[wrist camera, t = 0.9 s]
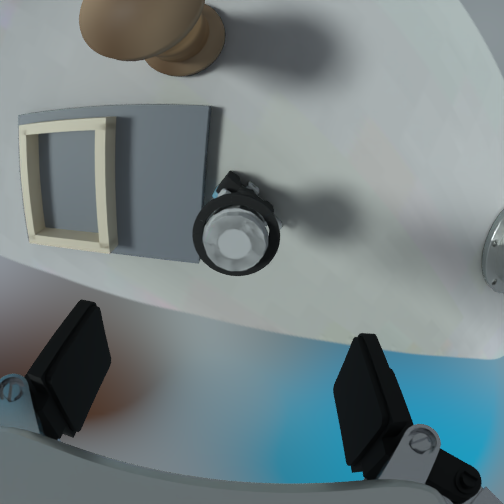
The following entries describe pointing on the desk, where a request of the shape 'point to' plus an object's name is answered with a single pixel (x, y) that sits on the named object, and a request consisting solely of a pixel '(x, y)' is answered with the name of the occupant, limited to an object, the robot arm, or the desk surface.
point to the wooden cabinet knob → (154, 33)
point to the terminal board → (115, 178)
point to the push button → (236, 229)
